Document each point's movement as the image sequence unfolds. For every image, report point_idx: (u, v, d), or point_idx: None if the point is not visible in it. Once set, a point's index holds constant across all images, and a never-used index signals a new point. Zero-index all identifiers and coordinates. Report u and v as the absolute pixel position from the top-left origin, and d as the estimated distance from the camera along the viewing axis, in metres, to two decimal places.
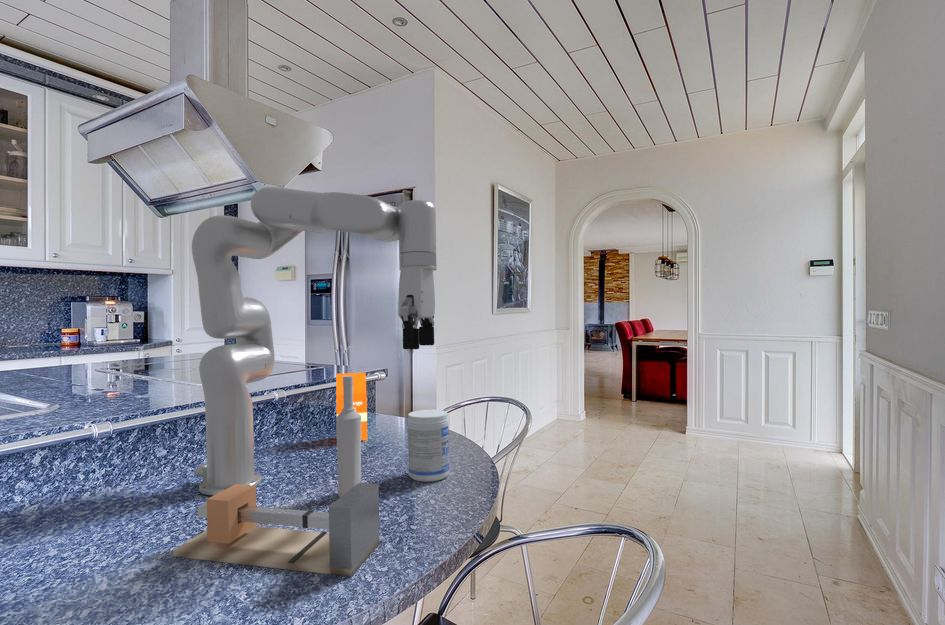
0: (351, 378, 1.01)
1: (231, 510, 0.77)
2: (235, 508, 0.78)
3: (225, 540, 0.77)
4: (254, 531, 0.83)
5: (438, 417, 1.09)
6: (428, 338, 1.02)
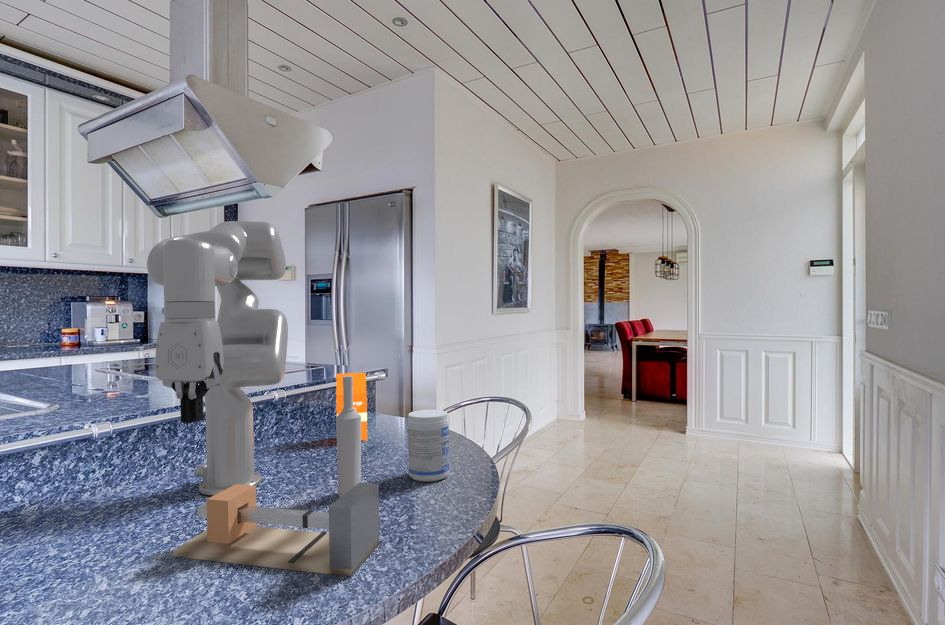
0: (351, 378, 1.01)
1: (231, 510, 0.77)
2: (235, 508, 0.78)
3: (225, 540, 0.77)
4: (254, 531, 0.83)
5: (438, 417, 1.09)
6: None
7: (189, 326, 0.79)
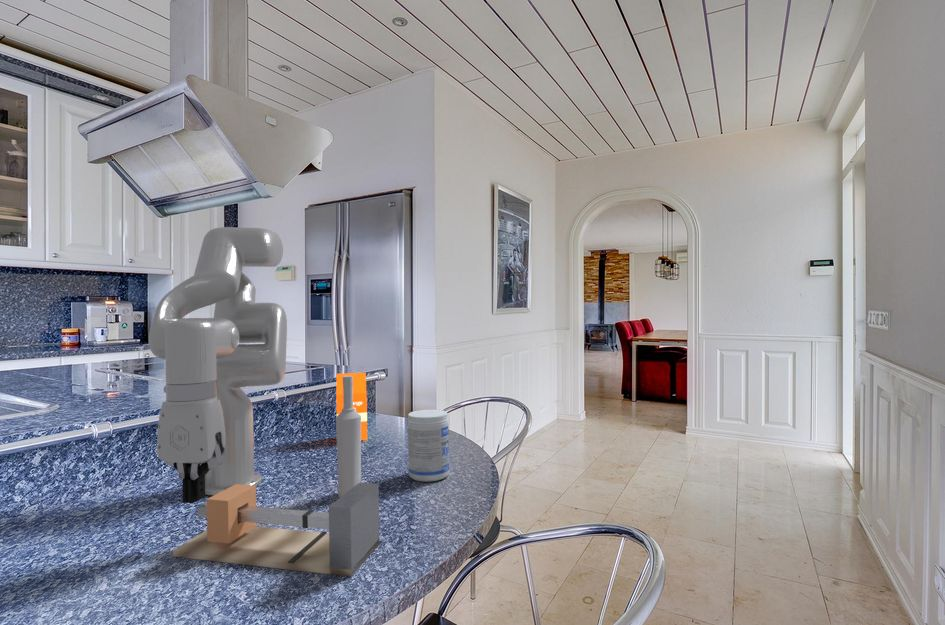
0: (351, 378, 1.01)
1: (231, 510, 0.77)
2: (235, 508, 0.78)
3: (225, 540, 0.77)
4: (254, 531, 0.83)
5: (438, 417, 1.09)
6: None
7: (191, 408, 0.79)
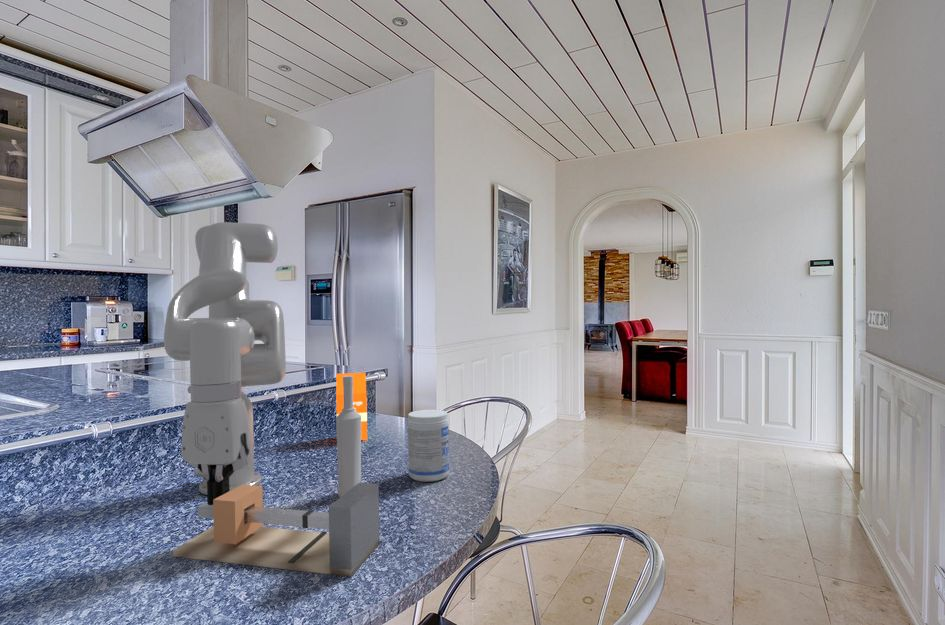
0: (351, 378, 1.01)
1: (238, 511, 0.77)
2: (242, 509, 0.78)
3: (232, 541, 0.77)
4: (254, 531, 0.83)
5: (438, 417, 1.09)
6: None
7: (216, 409, 0.78)
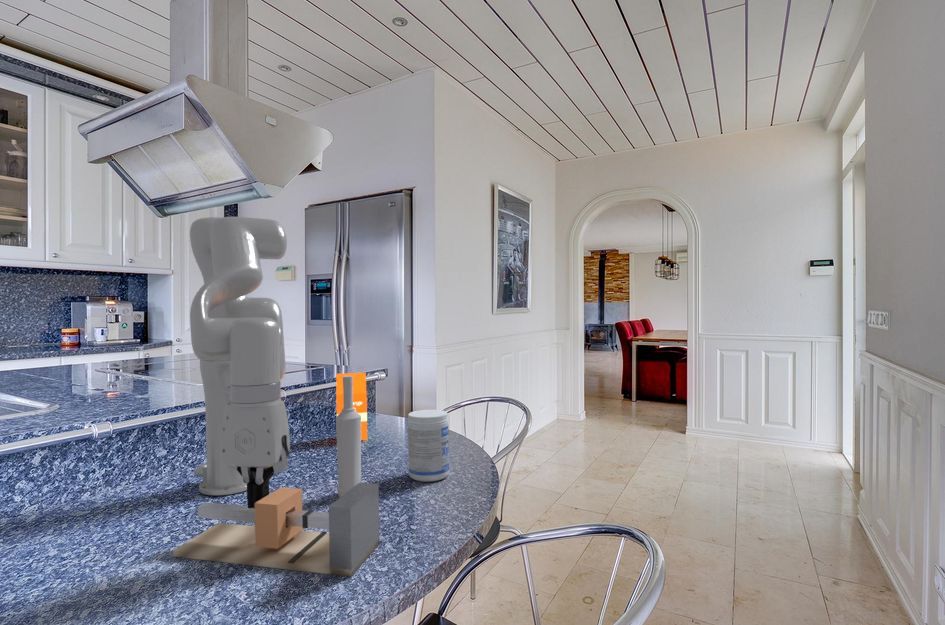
0: (351, 378, 1.01)
1: (280, 514, 0.76)
2: (283, 512, 0.76)
3: (274, 545, 0.75)
4: (254, 531, 0.83)
5: (438, 417, 1.09)
6: None
7: (257, 410, 0.76)
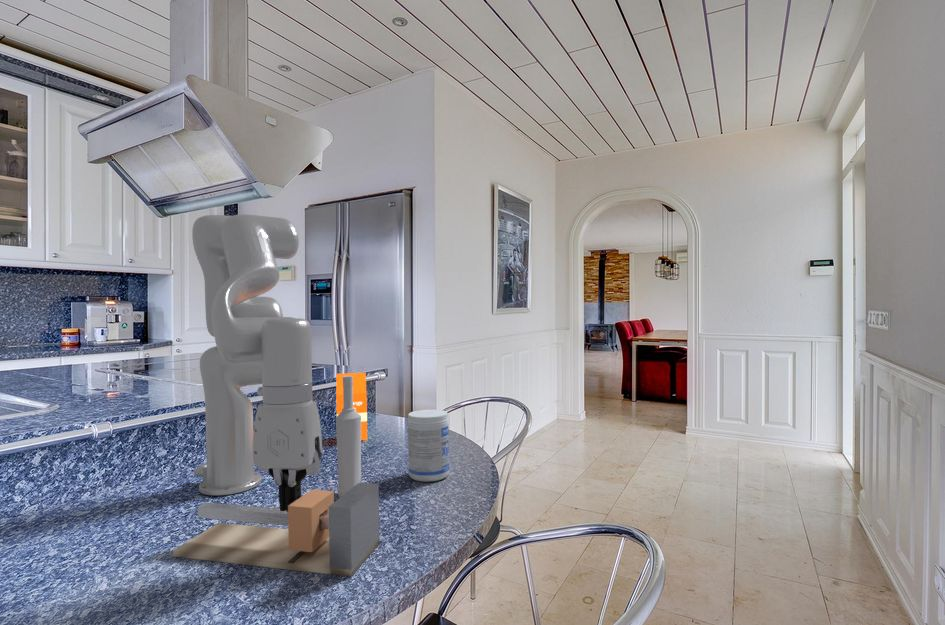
0: (351, 378, 1.01)
1: (314, 517, 0.74)
2: (317, 515, 0.75)
3: (308, 549, 0.74)
4: (254, 531, 0.83)
5: (438, 417, 1.09)
6: None
7: (290, 411, 0.75)
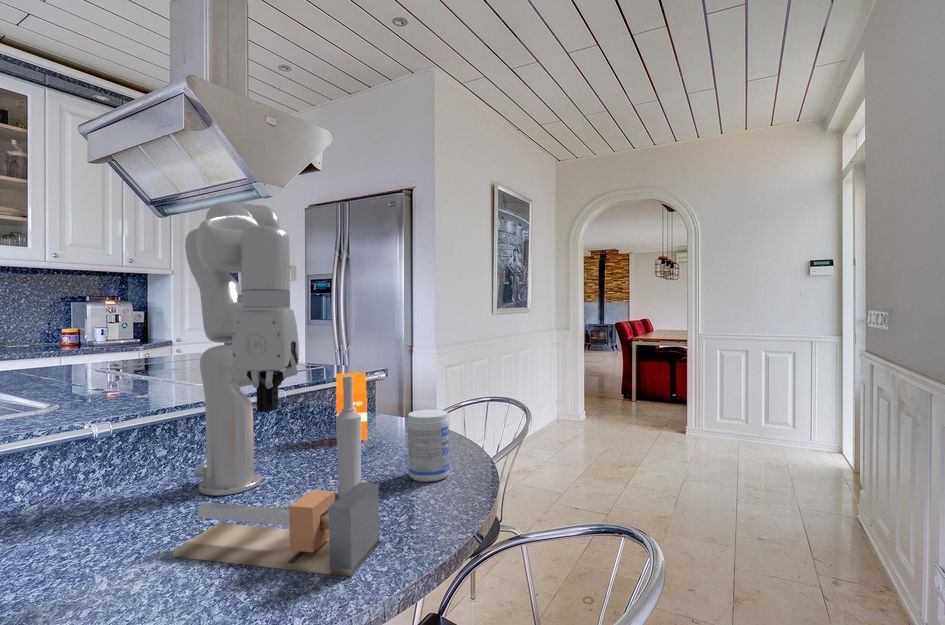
0: (351, 378, 1.01)
1: (315, 517, 0.74)
2: (318, 515, 0.75)
3: (309, 549, 0.74)
4: (254, 531, 0.83)
5: (438, 417, 1.09)
6: None
7: (267, 314, 0.78)
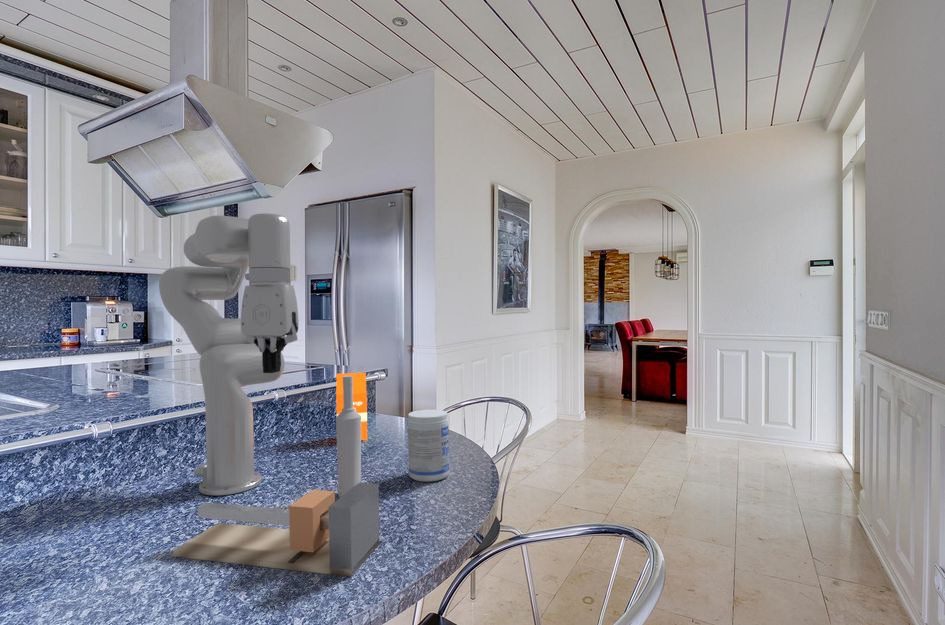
0: (351, 378, 1.01)
1: (315, 517, 0.74)
2: (318, 515, 0.75)
3: (309, 549, 0.74)
4: (254, 531, 0.83)
5: (438, 417, 1.09)
6: None
7: (271, 288, 0.91)
